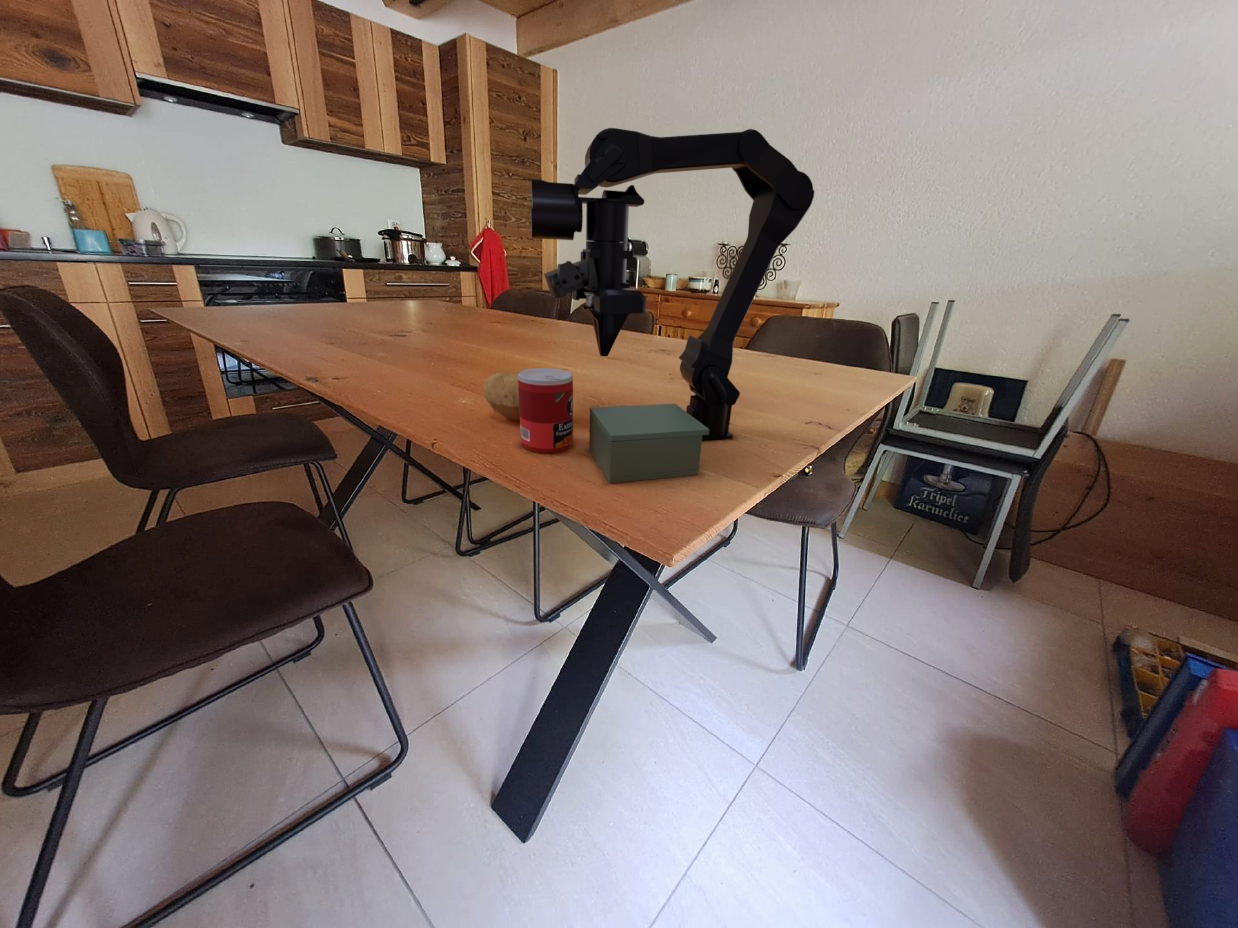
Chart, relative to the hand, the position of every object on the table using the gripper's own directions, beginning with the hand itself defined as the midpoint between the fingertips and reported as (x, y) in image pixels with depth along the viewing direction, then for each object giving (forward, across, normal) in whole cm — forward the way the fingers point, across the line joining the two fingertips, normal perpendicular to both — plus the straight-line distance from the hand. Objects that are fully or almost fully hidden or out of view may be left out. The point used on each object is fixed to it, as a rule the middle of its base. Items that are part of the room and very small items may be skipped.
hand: (603, 355), depth 71 cm
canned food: (+13, +2, -9) cm, 16 cm away
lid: (+7, +11, +3) cm, 14 cm away
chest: (+13, +11, +3) cm, 17 cm away
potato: (+13, -10, -11) cm, 20 cm away
